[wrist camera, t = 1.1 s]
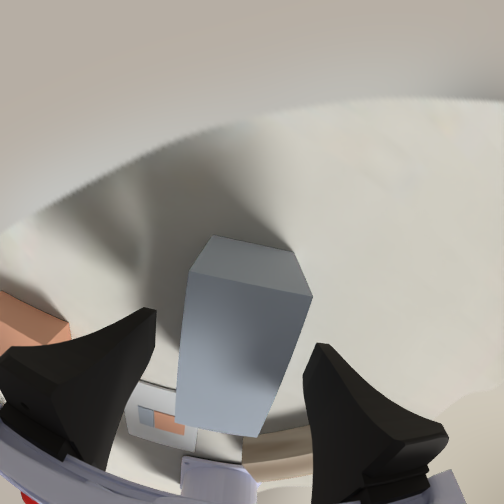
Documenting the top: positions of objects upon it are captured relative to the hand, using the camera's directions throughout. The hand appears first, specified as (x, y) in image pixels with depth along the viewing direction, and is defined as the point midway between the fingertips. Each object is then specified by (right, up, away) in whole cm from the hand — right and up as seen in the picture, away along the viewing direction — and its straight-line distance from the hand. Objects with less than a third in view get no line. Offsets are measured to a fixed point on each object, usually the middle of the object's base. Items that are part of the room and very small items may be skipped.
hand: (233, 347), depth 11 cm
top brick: (0, +1, +3) cm, 3 cm away
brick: (+5, -11, +7) cm, 14 cm away
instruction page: (-6, -9, +6) cm, 12 cm away
